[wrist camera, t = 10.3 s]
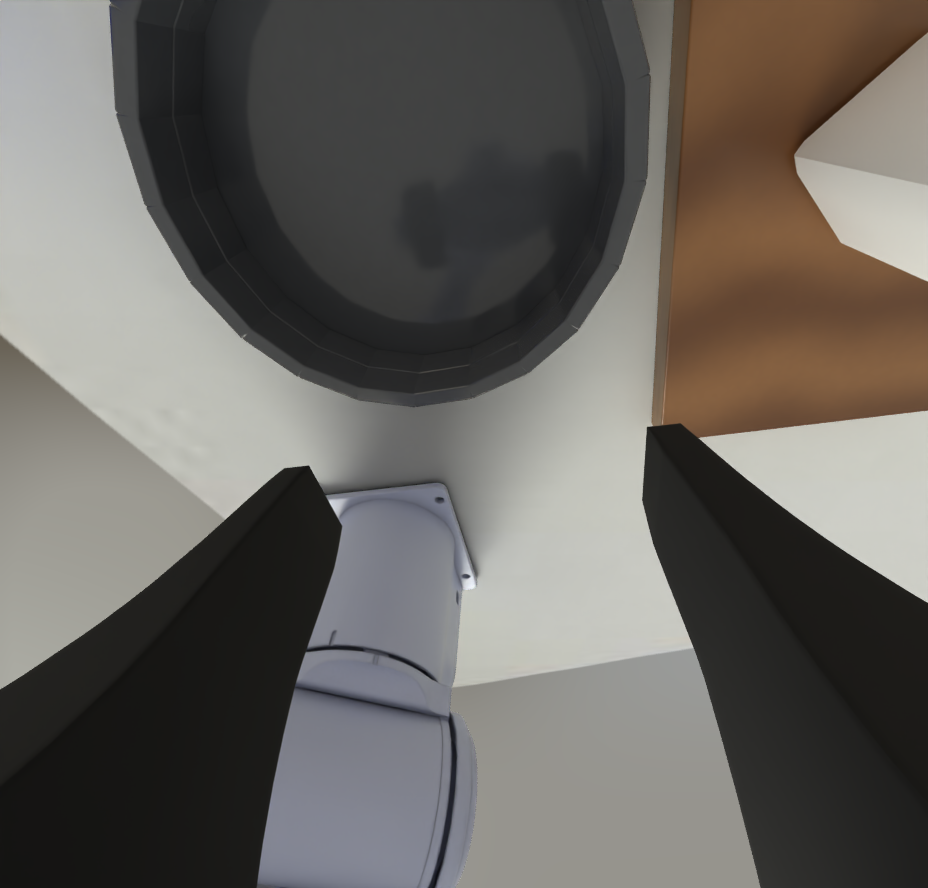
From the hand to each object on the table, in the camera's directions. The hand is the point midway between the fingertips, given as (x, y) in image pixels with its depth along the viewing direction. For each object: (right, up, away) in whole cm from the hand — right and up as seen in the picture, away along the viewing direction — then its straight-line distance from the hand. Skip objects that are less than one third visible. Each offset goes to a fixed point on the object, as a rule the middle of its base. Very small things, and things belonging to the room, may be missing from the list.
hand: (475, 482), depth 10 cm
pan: (-2, +10, +6) cm, 12 cm away
